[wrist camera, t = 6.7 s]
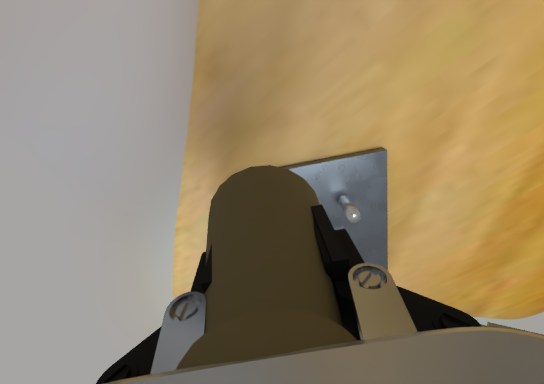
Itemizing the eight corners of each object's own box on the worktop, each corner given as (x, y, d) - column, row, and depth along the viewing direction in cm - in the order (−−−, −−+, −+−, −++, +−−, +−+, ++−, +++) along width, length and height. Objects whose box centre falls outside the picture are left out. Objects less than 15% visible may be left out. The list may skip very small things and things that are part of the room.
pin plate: (230, 176, 31) (225, 195, 26) (382, 147, 31) (405, 160, 26) (261, 289, 39) (261, 320, 34) (383, 267, 38) (401, 295, 33)
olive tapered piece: (343, 211, 14) (545, 531, 4) (271, 279, 16) (295, 623, 6) (257, 140, 13) (259, 408, 2) (186, 225, 14) (16, 589, 4)
